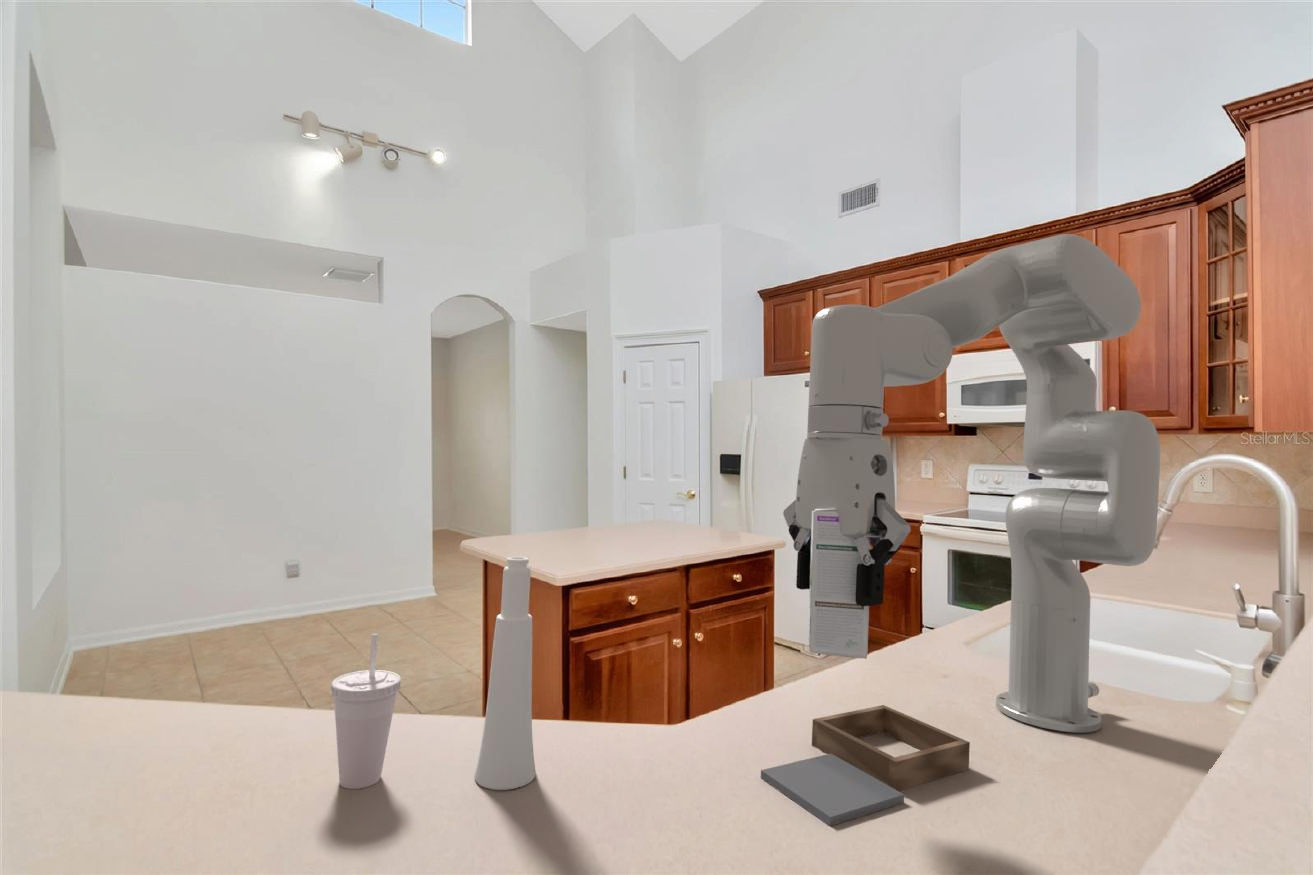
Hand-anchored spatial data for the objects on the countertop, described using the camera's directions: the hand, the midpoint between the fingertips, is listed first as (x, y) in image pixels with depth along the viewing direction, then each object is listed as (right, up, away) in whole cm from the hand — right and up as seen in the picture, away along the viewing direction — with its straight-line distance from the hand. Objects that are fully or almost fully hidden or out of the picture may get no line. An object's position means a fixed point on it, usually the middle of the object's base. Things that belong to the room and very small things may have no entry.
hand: (837, 595), depth 68 cm
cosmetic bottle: (-34, -18, -1) cm, 39 cm away
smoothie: (-48, -17, -3) cm, 51 cm away
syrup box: (0, -6, 0) cm, 6 cm away
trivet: (-1, -20, -1) cm, 20 cm away
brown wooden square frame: (+8, -21, +8) cm, 23 cm away
